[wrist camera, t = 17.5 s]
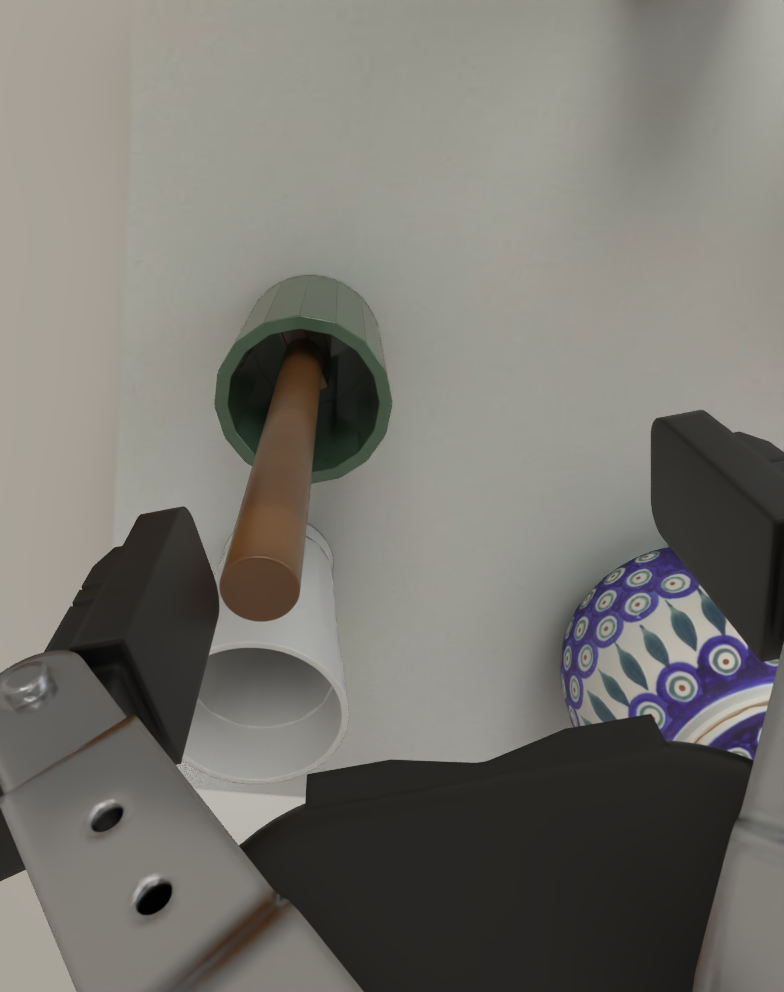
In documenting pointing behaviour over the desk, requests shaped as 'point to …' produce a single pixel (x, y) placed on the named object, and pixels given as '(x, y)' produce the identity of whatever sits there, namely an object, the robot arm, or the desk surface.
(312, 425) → the wooden paddle stick
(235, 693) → the cup
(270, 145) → the desk surface
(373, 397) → the crock
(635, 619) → the teapot
